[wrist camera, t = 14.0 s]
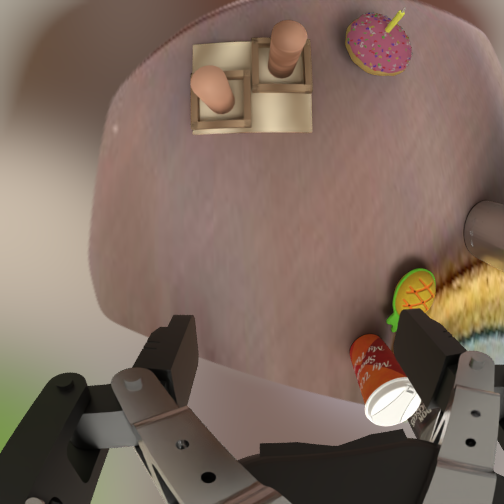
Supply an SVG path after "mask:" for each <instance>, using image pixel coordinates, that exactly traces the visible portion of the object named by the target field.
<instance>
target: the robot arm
mask: <svg viewBox="0 0 504 504" xmlns="http://www.w3.org/2000/svg"><path fill="white" fill-rule="evenodd" d="M464 238H465V244H466V247H467V249H468V251H469V252H470V253H471V254H472V255H473V256H475V257H477V258H478V259H480V260H482V261H484V262H486V263H487V264H489V265H491V266H493V267H495V268H497V269H498V270H500V271H502V272H504V204H500V203H496V202H492V201H487V200H486V201H482V202H480V203H478V204H477V205H475V206H474V207H473V209H472V210H471V211H470V213H469V215H468V217H467V220H466V223H465V228H464ZM394 355H395V358H396V360H397V362H398V363H399V365H400V366H401V368H402V370H403V371H404V373H405V374H406V376H407V378H408V379H409V381H410V382H411V384H412V386H413V387H414V389H415V391H416V392H417V394H418V396H419V397H420V399H421V401H422V402H423V404H424V406H425V407H426V409H427V410H430V409H434V408H438V407H440V409H441V410H440V412H439V414H438V417H437V420H436V423H435V426H434V429H433V432H432V435H431V438H430V441H426V440H421V439H413V438H407V437H406V435H405V433H404V431H403V429H400V430H394V431H389V432H383V433H377V434H371V435H368V436H365V437H363V438H360V439H357V440H354V441H352V442H348V443H346V444H342V445H339V446H328V445H316V444H308V443H298V442H293V443H262V444H260V454H256V455H252V456H249V457H245V458H242V459H240V460H236V459H235V458H234V457H233V455H232V454H231V453H229V451H228V450H227V449H226V448H225V447H224V446H223V445H222V444H221V443H220V442H219V441H218V440H217V438H216V437H215V436H214V435H213V434H212V433H211V432H210V431H209V430H208V428H207V427H206V426H205V425H204V424H203V423H202V422H201V420H200V419H199V418H198V417H197V416H196V415H195V414H194V412H193V411H192V410H191V409H190V408H189V407H188V406H187V404H188V400H189V396H190V393H191V388H192V385H193V381H194V378H195V374H196V370H197V366H198V344H197V335H196V325H195V318H194V316H193V315H173V317H172V319H171V321H170V323H169V325H168V327H160V328H158V329H157V330H155V331H154V332H153V333H151V335H150V337H149V338H148V340H147V343H146V344H145V346H144V349H142V351H141V353H140V355H139V356H138V358H137V360H136V362H135V364H134V365H133V367H132V368H128V369H124V370H122V371H120V372H118V373H117V374H116V375H115V376H114V377H113V378H112V380H111V384H107V385H95V386H87V383H86V380H85V378H84V377H83V376H82V375H80V374H77V373H63V374H60V375H57V376H55V377H53V378H52V379H51V380H50V381H49V382H48V383H47V384H46V386H45V387H44V389H43V390H42V391H41V393H40V394H39V396H38V397H37V398H36V400H35V401H34V403H33V404H32V406H31V407H30V409H29V410H28V411H27V413H26V414H25V416H24V417H23V419H22V420H21V422H20V423H19V425H18V427H17V428H16V429H15V431H14V433H13V434H12V436H11V437H10V439H9V440H8V442H7V443H6V445H5V447H4V448H3V450H2V452H1V453H0V504H90V502H91V500H92V497H93V493H94V491H95V488H96V485H97V482H98V479H99V476H100V473H101V470H102V467H103V465H104V462H105V459H106V456H107V453H108V450H109V448H118V447H129V446H133V448H134V450H135V451H136V453H137V455H138V457H139V459H140V460H141V462H142V464H143V466H144V467H145V469H146V471H147V473H148V474H149V476H150V478H151V479H152V481H153V482H154V484H155V486H156V488H157V489H158V491H159V493H160V495H161V496H162V498H163V500H164V502H165V503H166V504H504V477H503V476H501V475H499V474H497V473H495V472H494V470H493V468H494V461H495V454H496V446H497V440H498V442H499V443H500V445H501V447H502V449H503V450H504V365H495V364H494V361H493V360H492V358H491V357H489V356H488V355H487V354H484V353H482V352H479V351H467V350H466V349H465V348H464V347H463V346H462V345H461V344H460V343H459V342H458V341H457V340H456V339H455V338H454V337H452V335H451V334H450V333H449V332H447V330H446V329H445V328H444V327H443V326H442V325H441V324H440V323H438V322H436V321H434V320H432V319H430V318H429V317H428V316H427V315H426V314H425V313H424V312H423V311H422V310H421V309H420V308H415V309H403V310H402V311H401V312H400V315H399V321H398V326H397V331H396V336H395V341H394Z"/></svg>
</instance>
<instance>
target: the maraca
mask: <svg viewBox="0 0 504 504" xmlns="http://www.w3.org/2000/svg"><path fill="white" fill-rule="evenodd" d="M434 297H435V278H434V276H433V274H432V273H431V272H430V271H428V270H426V269H423V268H417V269H414V270H411V271H410V272H408V273H407V274H405V275H404V276H403V277H402V278H401V279H400V281H399V282H398V284H397V286H396V288H395V291H394V296H393V304H392V305H393V310H394V311H393V314H392V315H390V316H389V317H388V319H387V320H386V322H387V324H391V325H392V326H391V331H392V332H396V331H397V326H398V321H399V315H400V312H401V311H402V310H403V309H415V308H420V309H421V310H422V311H423V312H424V313H426V312H427V311H428V310H429V308H430V307H431V305H432V303H433V301H434Z"/></svg>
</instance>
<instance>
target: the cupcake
mask: <svg viewBox="0 0 504 504" xmlns="http://www.w3.org/2000/svg"><path fill="white" fill-rule="evenodd" d="M405 9H406V8H405V7H404V8H403V10H400V11H399V12H398V13H397V14H396V16H395V17H394V18H393V19H392V20H391V19H389V18H387V16H383V15H382V14H380V15H378V14H377V13H376V14H374V12H372V13H371V14H369V13H368V14H366V13H365V14H363V15H362V16H361V17H359V18H358V19H356V20H355V21H354V22H352V23H351V24H350V25H349V26H348V28H347V30H346V41H345V46H346V48H347V51H348V53H349V55H350V57H351V59H352V61H353V62H354V63H355V64H356V65H358V66H359V67H360V68H361V69H363V70H364V71H365V72H367V73H370V74H373V75H379V76H389V75H390V76H395V75H397V74H399V73H401V72H403V71H404V70H405V69H406V67H407V66H408V63H410V62H409V61H410V59H411V55H413V53H412V52H411V44H410V41H409V37H408V35H406V34H405V31H404V30H403V29H402V28H401V27H400V26H399V25H398V24H397V23H398V22H399V20H400V19H401V18H402V17H403V16H404V14H405V13H404V10H405Z"/></svg>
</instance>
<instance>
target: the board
mask: <svg viewBox="0 0 504 504" xmlns="http://www.w3.org/2000/svg"><path fill="white" fill-rule="evenodd" d="M207 65H213V66H216V67H219V68H220V69H222V70H223V72H224V73H225V75H226V78H227V80H228V83H229V85H230V88H231V90H232V93H233V96H234V98H235V104H234V107H233V109H232V110H231V111H230V112H228V113H226V114H216V113H214V112H213V111H212V110H211V109H210V108H209V107H208V106H207V105H206V104H205V103H204V102H203V101H202V100H201V99H200V98H199V97H198V96H197V95H196V94H195V93H194V92H193V90H192V88H191V129H192V130H193V135H203V134H223V133H267V132H279V133H312V101H311V93H312V91H313V87H312V65H311V46H310V39H307V32H306V30H305V28H304V27H303V26H302V25H301V24H299V23H298V22H295V21H291V20H285V21H281V22H279V23H277V24H276V25H275V26H274V27H273V30H272V35H271V38H251V42H226V43H210V44H198V45H193V73H191V78H192V76H193V74H194V73H195V71H196V70H198V69H199V68H201V67H203V66H207Z"/></svg>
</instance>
